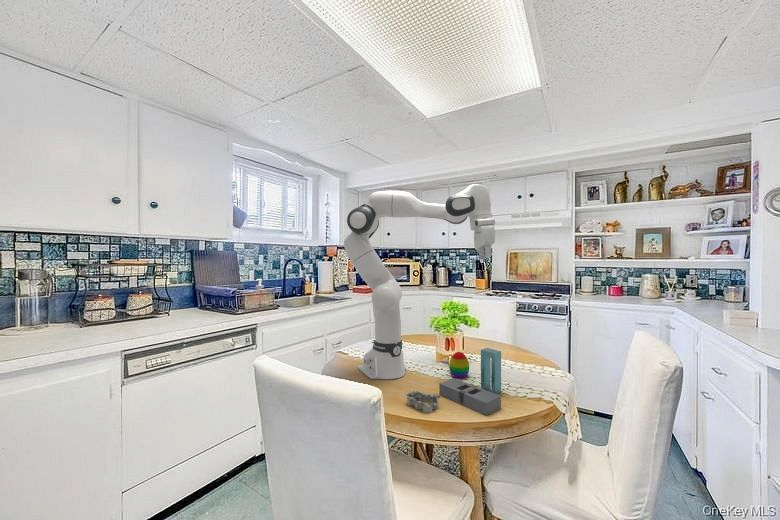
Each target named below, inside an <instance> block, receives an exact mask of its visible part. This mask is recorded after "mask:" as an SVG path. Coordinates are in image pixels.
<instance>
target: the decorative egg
mask: <svg viewBox="0 0 780 520" xmlns="http://www.w3.org/2000/svg"><path fill="white" fill-rule="evenodd" d="M448 365H449V367H448V368H449V369H448V370H449V372H450V374H451V375H452V377H453V378H455V379H464V377H465V378H466V377H467V376H468V374H469V371H470V362H469V359H468V357H467V356H466V355H465V353H464V352H462V351H456V352H454V353H453V354H452V356H451V358H450V360H449V364H448Z"/></svg>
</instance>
